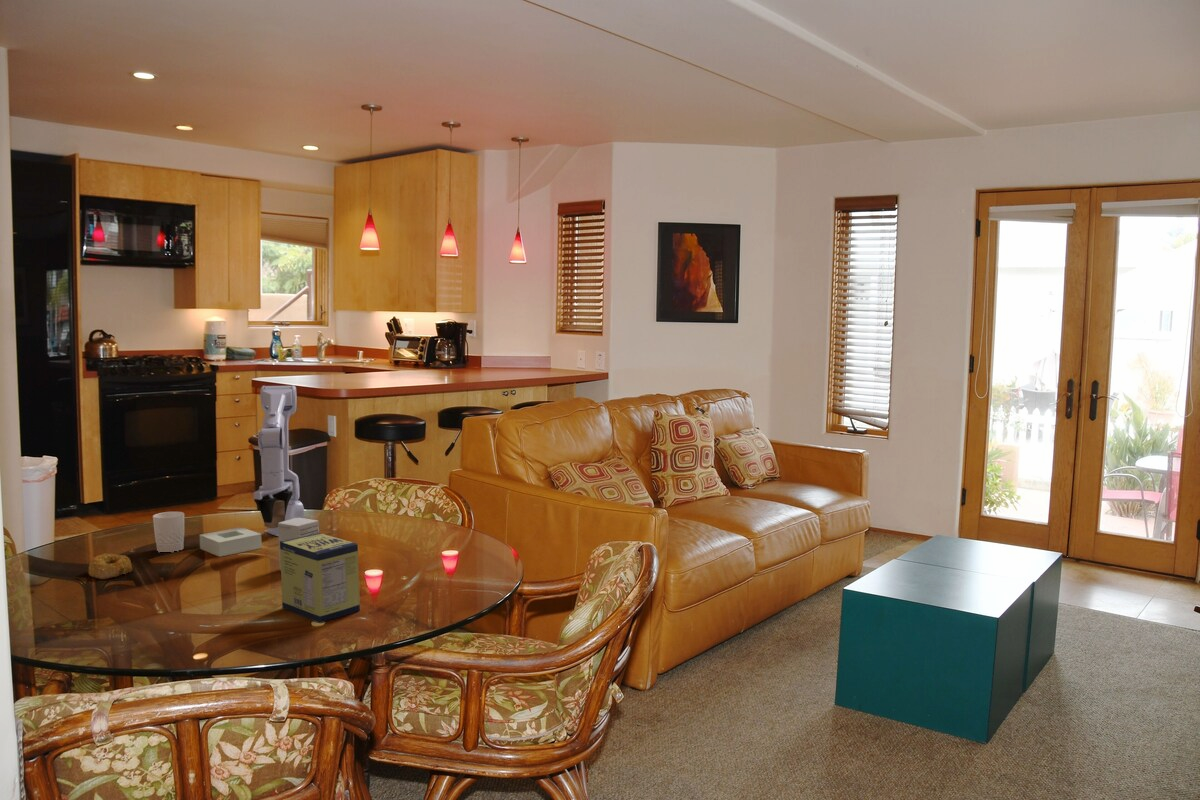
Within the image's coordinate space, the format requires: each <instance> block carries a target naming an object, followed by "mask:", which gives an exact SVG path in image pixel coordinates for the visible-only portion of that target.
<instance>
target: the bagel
mask: <svg viewBox="0 0 1200 800" xmlns="http://www.w3.org/2000/svg"><path fill="white" fill-rule="evenodd" d="M128 572H129V573H131V572H133V565H132V562H131V559H130V557H128V556H127V555H124V554H123V555H122V554H117V553H102V554H98V555H96V556H94V557H92V559H91V560H90V563H89V565H88V575H89V576H90V577H92V578H94V579H99V580H108V579H113V577H114V578H117V577H119V576H123V575H122V574H125V575H127V574H129V573H128ZM126 573H127V574H126Z"/></svg>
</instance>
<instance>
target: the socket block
mask: <svg viewBox="0 0 1200 800" xmlns="http://www.w3.org/2000/svg"><path fill="white" fill-rule="evenodd" d="M262 543H263V542H262V533H259V532H256V531H253V530H251V529H247V528H245V527H242V526H238V527H233V528H228V529H223V530H218V531H214V532H208V533H202V534H199V549H200V550H202V551H205V552H207V553H210V554H211V555H214V556H217V557H219V558H221V557H225V556H230V555H235V554H241V553H245V552H249V551H254V550H259V549H262V548H263V546H262V545H263V544H262Z"/></svg>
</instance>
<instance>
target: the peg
mask: <svg viewBox="0 0 1200 800" xmlns="http://www.w3.org/2000/svg"><path fill="white" fill-rule="evenodd" d="M283 521H285V506H284V501H283V500H279V499H276V500H275V503H274V506H273V518H272V522H271V523H266V522H264V521H263V523H264V527H265V528H266V527H267V528H268V529H270V528H277V527H278V523H280V522H283Z"/></svg>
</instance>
